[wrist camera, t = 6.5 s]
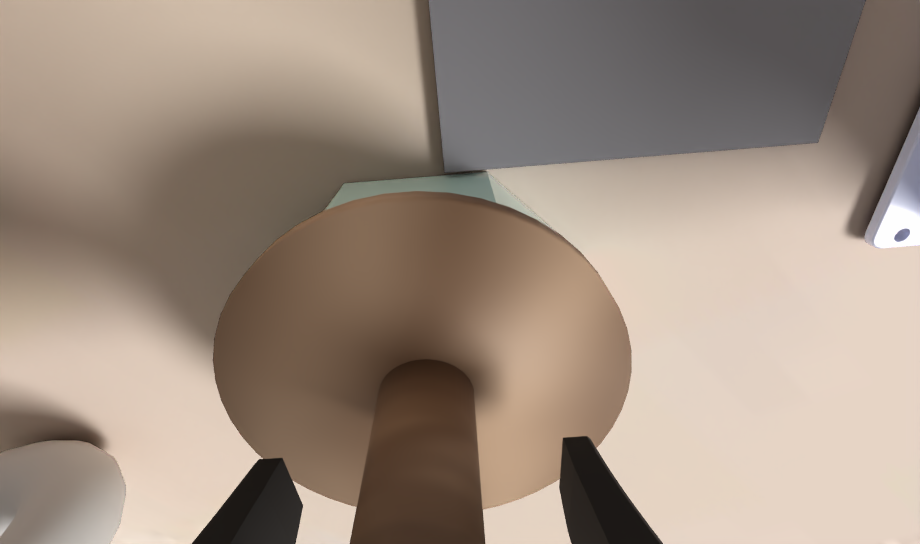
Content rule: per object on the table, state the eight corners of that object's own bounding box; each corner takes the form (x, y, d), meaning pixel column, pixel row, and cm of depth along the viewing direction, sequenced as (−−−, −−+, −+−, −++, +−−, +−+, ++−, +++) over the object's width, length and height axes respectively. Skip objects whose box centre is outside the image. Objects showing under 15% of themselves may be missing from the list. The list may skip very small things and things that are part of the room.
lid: (661, 187, 10) (834, 310, 6) (590, 490, 16) (648, 671, 12) (165, 195, 10) (-70, 329, 6) (276, 499, 16) (207, 688, 11)
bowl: (588, 163, 14) (635, 206, 11) (570, 410, 20) (596, 491, 16) (244, 191, 14) (177, 242, 11) (323, 428, 20) (297, 511, 16)
